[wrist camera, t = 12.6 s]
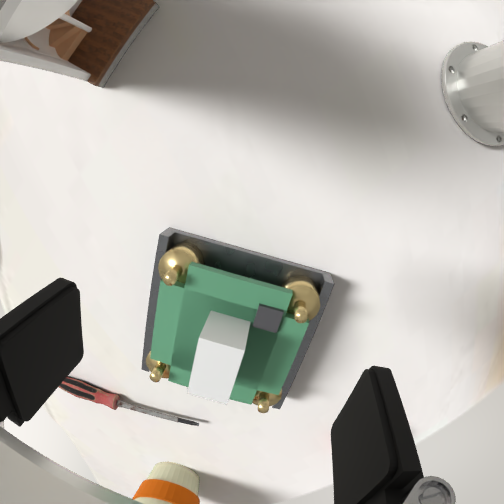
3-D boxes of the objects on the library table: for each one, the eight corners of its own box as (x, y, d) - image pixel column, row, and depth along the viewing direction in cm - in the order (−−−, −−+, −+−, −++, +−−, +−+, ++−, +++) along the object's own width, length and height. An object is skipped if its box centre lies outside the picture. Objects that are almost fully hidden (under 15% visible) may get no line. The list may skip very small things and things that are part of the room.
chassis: (330, 273, 34) (339, 299, 28) (280, 393, 39) (279, 428, 33) (169, 227, 34) (146, 243, 28) (149, 356, 40) (131, 386, 33)
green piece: (316, 296, 31) (323, 327, 25) (272, 403, 35) (269, 440, 29) (167, 254, 31) (143, 276, 25) (151, 368, 35) (133, 400, 30)
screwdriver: (201, 411, 42) (196, 425, 39) (200, 423, 43) (196, 437, 40) (59, 368, 43) (50, 378, 40) (63, 381, 44) (54, 391, 41)
